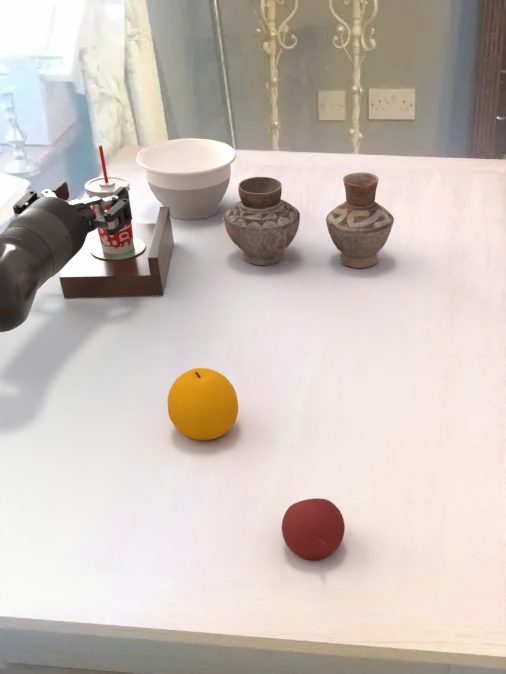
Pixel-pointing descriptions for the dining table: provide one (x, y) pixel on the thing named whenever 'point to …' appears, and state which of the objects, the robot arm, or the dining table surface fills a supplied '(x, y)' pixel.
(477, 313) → the dining table surface
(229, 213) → the pottery
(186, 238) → the dining table surface
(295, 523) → the fruit
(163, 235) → the shelf
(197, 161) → the bowl
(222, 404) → the apple
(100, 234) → the beverage cup
